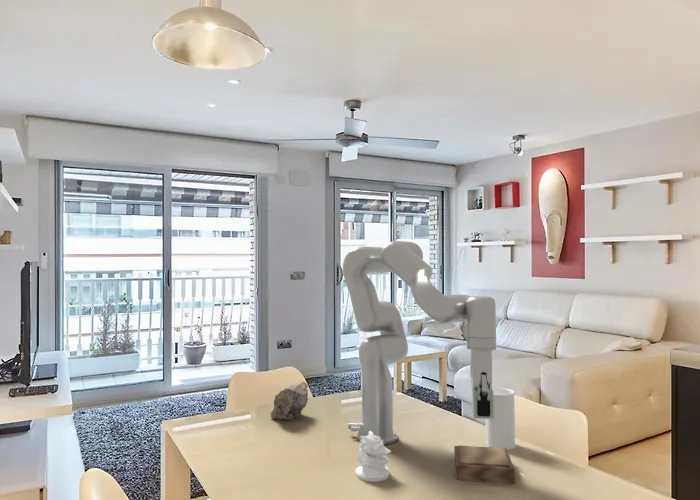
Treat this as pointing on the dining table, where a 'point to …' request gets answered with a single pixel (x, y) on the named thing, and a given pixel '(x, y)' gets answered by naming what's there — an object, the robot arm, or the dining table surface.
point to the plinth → (483, 464)
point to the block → (474, 403)
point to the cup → (502, 420)
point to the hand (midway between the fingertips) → (482, 412)
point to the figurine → (372, 459)
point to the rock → (290, 402)
